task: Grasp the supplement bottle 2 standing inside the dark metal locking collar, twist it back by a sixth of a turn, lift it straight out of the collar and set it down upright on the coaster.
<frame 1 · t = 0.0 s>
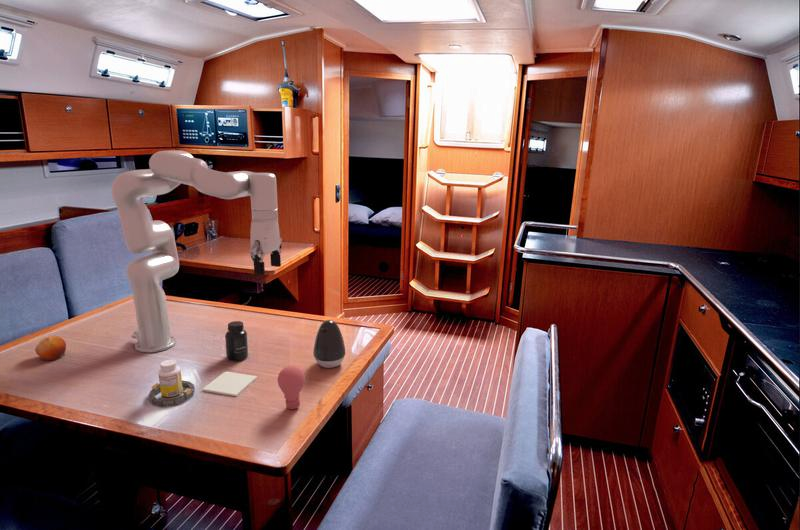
hand: (268, 270, 144), 31 cm above the table, tool pointing down, fingers open, 9 cm apart
pump dispenser: (329, 364, 152), on the table
supplement bottle: (237, 357, 155), on the table
coaster: (230, 384, 138), on the table
light bulb: (292, 407, 127), on the table
supplement bottle 2: (172, 396, 132), resting in collar
fruit: (52, 357, 152), on the table
collar: (172, 395, 132), on the table
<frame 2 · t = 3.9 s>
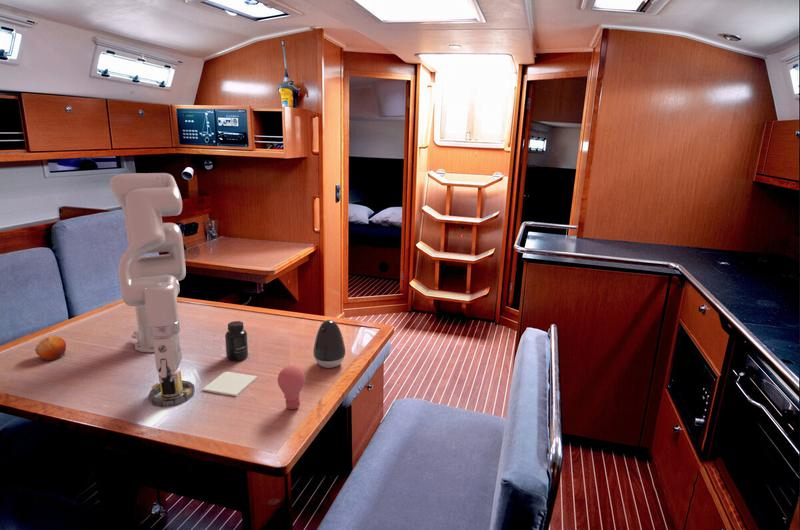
hand: (171, 387, 131), 3 cm above the table, tool pointing down, fingers closed on supplement bottle 2, 5 cm apart
supplement bottle 2: (172, 396, 132), resting in collar, touching gripper
everything else where it was.
when the fingers open (4 cm above the table, at t = 9.9 s): supplement bottle 2 drops 1 cm, resting on coaster.
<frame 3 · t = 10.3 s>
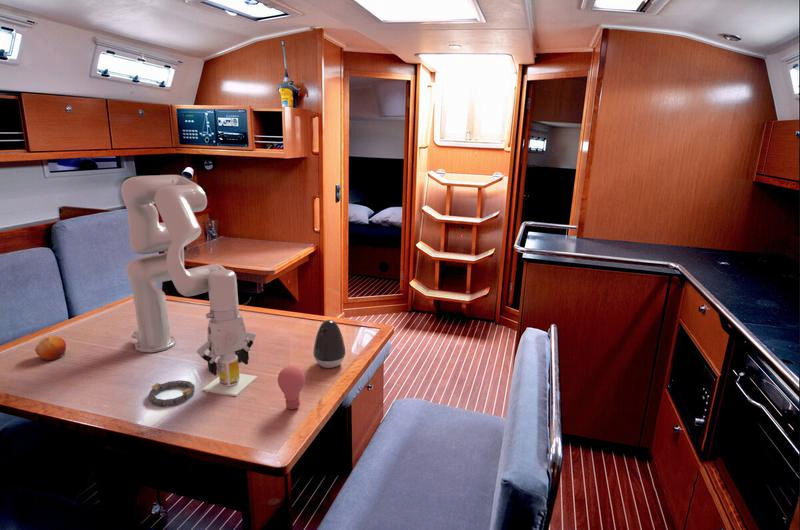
hand: (229, 368, 137), 5 cm above the table, tool pointing down, fingers open, 9 cm apart
supplement bottle 2: (229, 383, 138), resting on coaster
everything else where it was.
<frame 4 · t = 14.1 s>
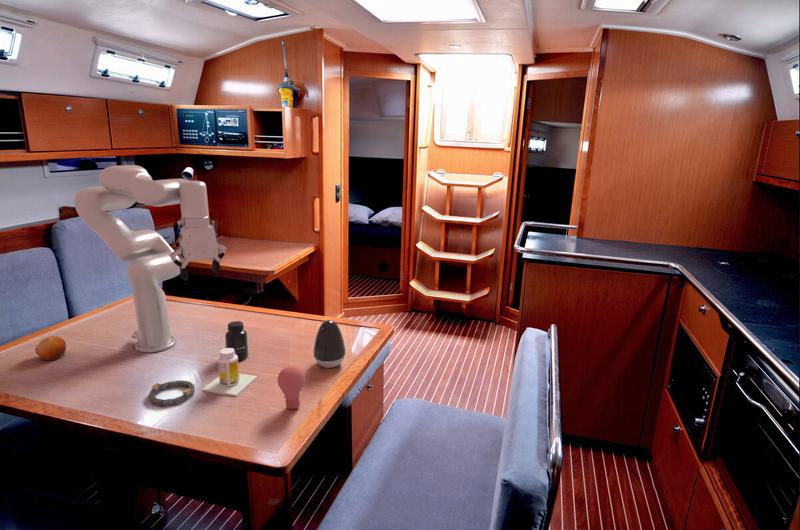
hand: (201, 276, 146), 28 cm above the table, tool pointing down, fingers open, 9 cm apart
nothing on the table moved.
at the end: supplement bottle 2 inside the target area on the coaster (0.2 cm from its centre), point 0.4 cm above the coaster's base; supplement bottle 2 tilted 0°; the gripper is holding nothing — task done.
